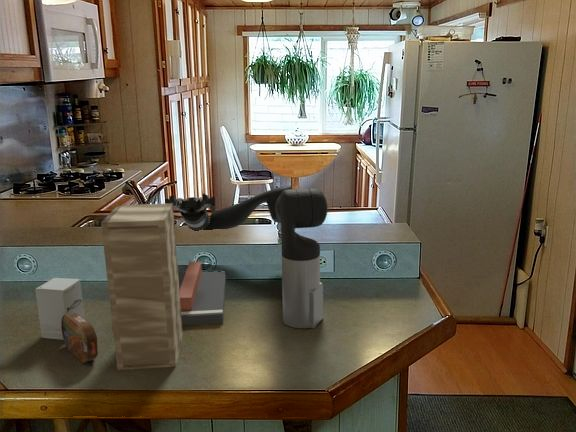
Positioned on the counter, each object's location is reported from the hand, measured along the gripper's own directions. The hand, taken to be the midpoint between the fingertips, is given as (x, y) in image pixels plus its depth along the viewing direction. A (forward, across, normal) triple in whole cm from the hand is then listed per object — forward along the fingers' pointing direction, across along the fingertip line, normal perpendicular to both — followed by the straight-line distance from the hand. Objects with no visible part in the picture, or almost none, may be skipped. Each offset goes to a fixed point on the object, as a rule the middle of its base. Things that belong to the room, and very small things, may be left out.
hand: (188, 197), depth 145 cm
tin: (+17, -22, +41) cm, 49 cm away
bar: (-5, 0, +25) cm, 26 cm away
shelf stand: (+18, -6, +41) cm, 46 cm away
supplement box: (+8, -29, +36) cm, 46 cm away
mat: (-5, 0, +28) cm, 28 cm away
